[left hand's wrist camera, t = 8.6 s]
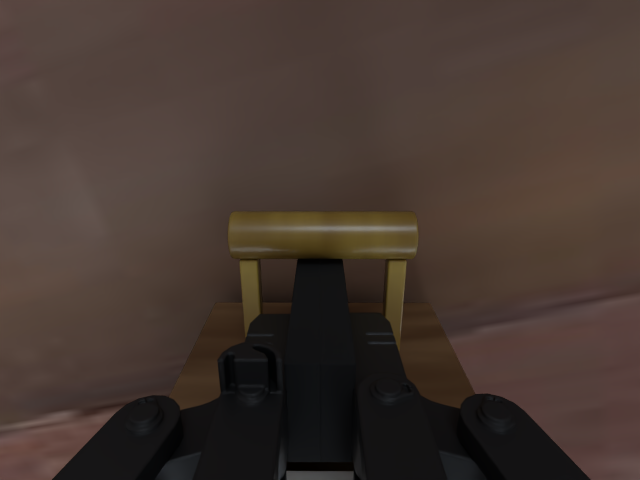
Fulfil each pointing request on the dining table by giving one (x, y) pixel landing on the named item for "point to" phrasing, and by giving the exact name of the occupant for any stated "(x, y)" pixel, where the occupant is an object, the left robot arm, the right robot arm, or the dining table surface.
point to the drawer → (405, 318)
